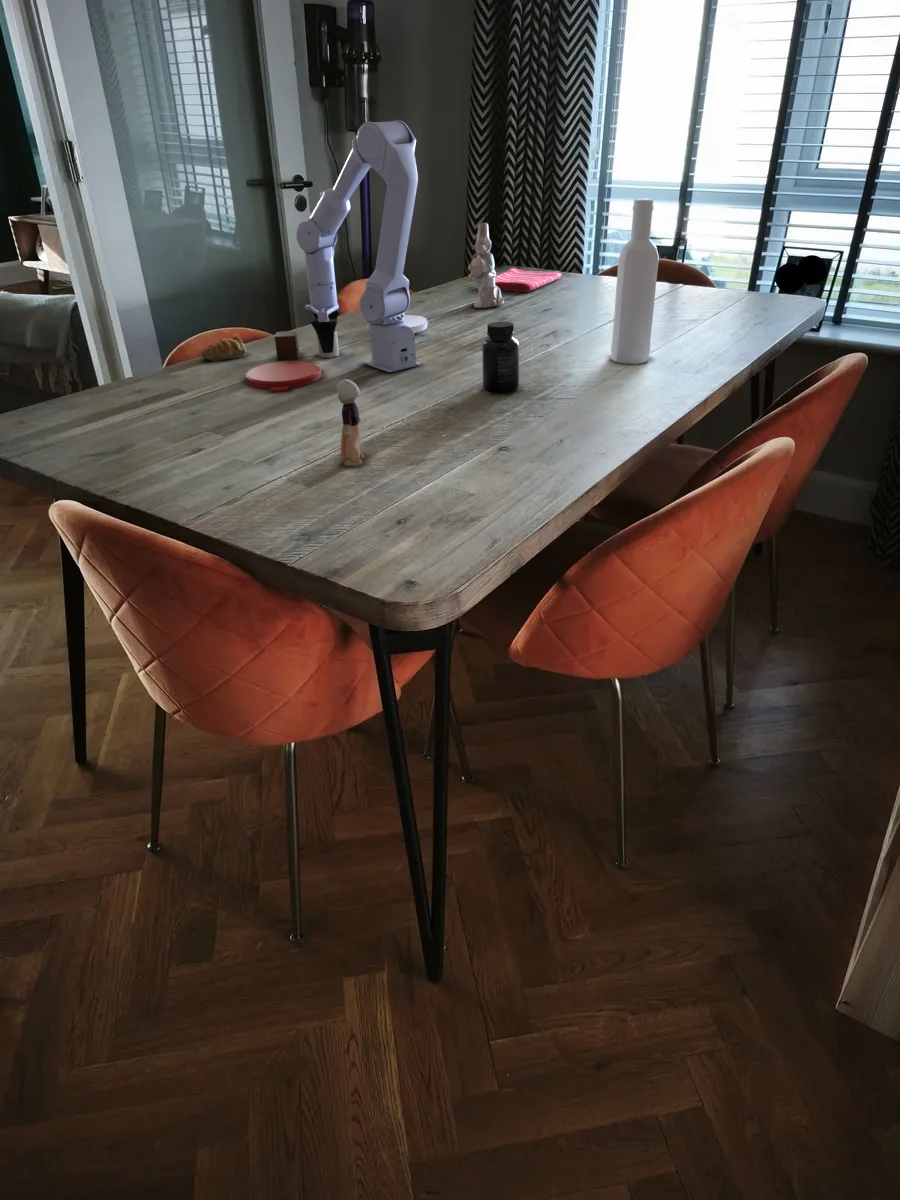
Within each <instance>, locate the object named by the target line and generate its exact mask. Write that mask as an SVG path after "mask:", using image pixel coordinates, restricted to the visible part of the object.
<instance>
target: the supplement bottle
mask: <svg viewBox="0 0 900 1200" xmlns="http://www.w3.org/2000/svg"><path fill="white" fill-rule="evenodd" d="M486 326H487V327H486V328H487V332H486V335H487V336H488V337H487V338H486V339H485V340H483V343H482V346H481V347H482V352H481V353H482V354H481V355H482V388H483V390H484V391H485V392H487V393H490V394H498V395H499V394H500V395H501V394H502V395H503V394H510V393H514V392H515V391H517V390H518V389H519V385H520V343H519V341H518V340H517V339H516V338H515V337H513V336H514V335H515V331H514V330H515V327H514V326H515V325H514V323H513V322H511V321H493V322H489V323H488V324H487V325H486Z"/></svg>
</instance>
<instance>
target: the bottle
mask: <svg viewBox="0 0 900 1200" xmlns="http://www.w3.org/2000/svg"><path fill="white" fill-rule="evenodd" d="M653 211H654V199H653V198H648V197H647V198H645V197H644V198H635V199H634V200H633V206H632V221H631V234H630V239H629V240H628V241H627V242H626V244H624V245H623V246H622V248H621V251H620V253H619V257H618V260H617V274H616V285H615V286H616V287H615V299H614V310H613V311H614V312H613V313H614V314H613V327H612V340H611V345H610V353H611V354H610V359H611V360H612V362H615V363H619V364H626V365H637V364H642V363H646V362H647V361H649V358H650V353H651V339H652V329H653V318H654V310H655V309H654V307H655V299H656V290H657V279H658V270H659V269H658V268H659V260H660V259H659V258H660V257H659V253H658V247H657V246H656V244H655V243H654V242H653V241H652V240H651V229H652V219H653Z"/></svg>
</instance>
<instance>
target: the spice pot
mask: <svg viewBox="0 0 900 1200" xmlns="http://www.w3.org/2000/svg"><path fill="white" fill-rule="evenodd" d="M316 338H317V348H318V355H319V357H321V358H326V359H327V358H328V359H329V358H330V359H331V358H335V357H339V356H340V346H339V337H338V330H336V329H335V332H334V347H333V353H323V351H322V348H321V345H320V342H319V338H318V335H317V334H316Z"/></svg>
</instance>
